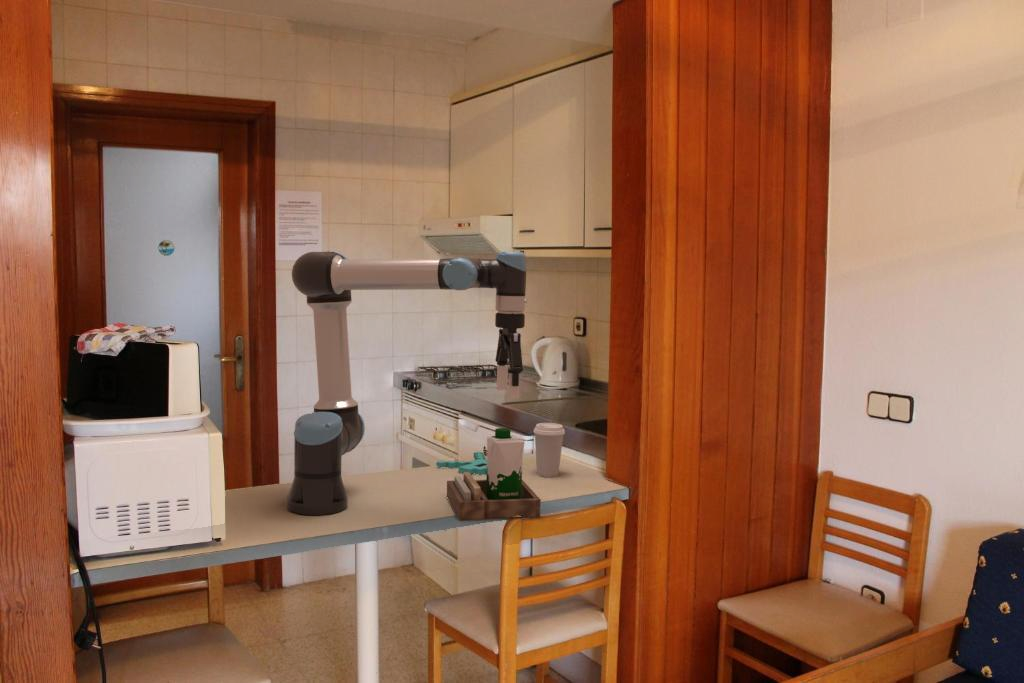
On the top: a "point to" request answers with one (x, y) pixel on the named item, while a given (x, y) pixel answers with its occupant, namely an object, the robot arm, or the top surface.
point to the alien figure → (468, 464)
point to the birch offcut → (472, 486)
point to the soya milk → (504, 466)
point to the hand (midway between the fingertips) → (507, 394)
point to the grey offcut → (462, 488)
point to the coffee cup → (548, 448)
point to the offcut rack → (494, 504)
